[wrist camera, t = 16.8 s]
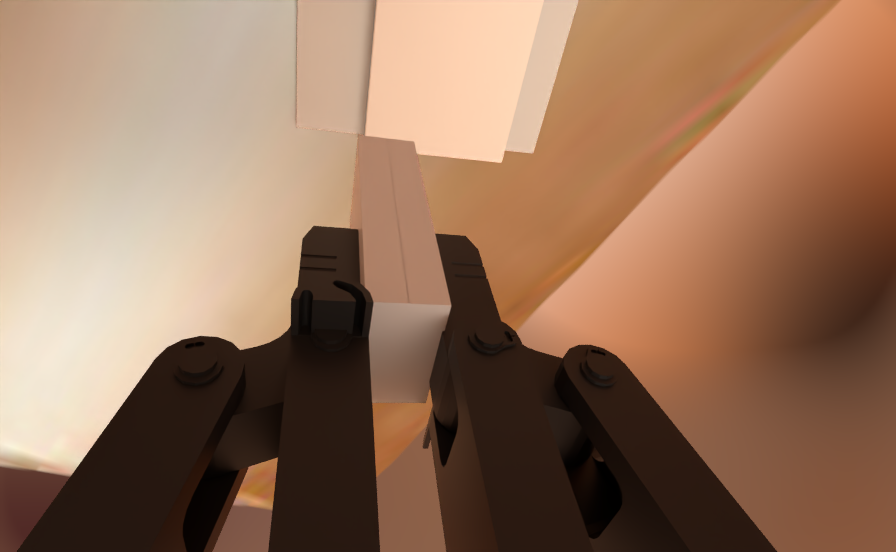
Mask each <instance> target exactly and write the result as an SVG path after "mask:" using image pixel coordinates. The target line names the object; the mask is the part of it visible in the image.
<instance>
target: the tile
mask: <svg viewBox="0 0 896 552" xmlns="http://www.w3.org/2000/svg"><path fill="white" fill-rule="evenodd" d="M543 2H544V0H375V10H374V22H373V33H372V45H371V56H370V68H369V79H368V91H367V102H366V114H365V125H364V136H372V137H380V138H389V139H397V140H406V141H414V143H415V147H416V152H417V154H423V155H433V156H442V157H452V158H461V159H471V160H481V161H490V162H500V163H502V159H503V155H504V152H505V148H506V144H507V140H508V136H509V132H510V129H511V125H512V121H513V117H514V113H515V109H516V106H517V102H518V98H519V94H520V90H521V86H522V83H523V79H524V75H525V71H526V67H527V63H528V60H529V56H530V52H531V48H532V44H533V40H534V36H535V33H536V29H537V25H538V21H539V17H540V13H541V10H542V6H543Z"/></svg>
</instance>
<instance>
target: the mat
mask: <svg viewBox="0 0 896 552" xmlns="http://www.w3.org/2000/svg"><path fill="white" fill-rule="evenodd" d="M577 4H578V0H544V2H543V6H542V10H541V13H540V17H539V21H538V25H537V29H536V33H535V36H534V40H533V44H532V48H531V52H530V56H529V60H528V63H527V67H526V71H525V75H524V79H523V83H522V86H521V90H520V94H519V98H518V102H517V106H516V109H515V113H514V117H513V121H512V125H511V129H510V132H509V136H508V140H507V144H506V148H505V150H506V151H515V152H524V153H533V152H534V149H535V145H536V142H537V139H538V135H539V132H540V128H541V125H542V122H543V118H544V115H545V112H546V108H547V105H548V102H549V98H550V95H551V91H552V88H553V85H554V81H555V78H556V75H557V71H558V68H559V64H560V61H561V58H562V54H563V51H564V48H565V44H566V41H567V38H568V34H569V31H570V27H571V24H572V21H573V17H574V14H575V11H576V7H577ZM374 10H375V0H297V127H298V128H307V129H316V130H325V131H334V132H343V133H352V134H361V135H364V125H365V114H366V102H367V91H368V79H369V68H370V56H371V45H372V33H373V22H374Z"/></svg>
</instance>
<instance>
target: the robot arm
mask: <svg viewBox="0 0 896 552" xmlns="http://www.w3.org/2000/svg"><path fill="white" fill-rule="evenodd" d="M482 265H483V263H482V260H481V257H480V254H479V251H478V249H477V248H476V247H475V246H474V245H473V243H472V242H471V241H470V240H469V239H468V238H467V237H466V236H460V235H447V234H435V231H434V227H433V222H432V218H431V213H430V209H429V205H428V200H427V196H426V191H425V187H424V183H423V178H422V174H421V169H420V165H419V161H418V156H417V152H416V147H415V143H414V141H406V140H397V139H389V138H380V137H372V136H363V135H358V142H357V152H356V163H355V173H354V184H353V194H352V205H351V216H350V229H348V228H334V227H321V226H313V227H312V228H311V230H310V231H309V232H308V233H307V234H306V235H305V237H304V238H303V240H302V250H301V260H300V270H299V279H298V287H297V288H296V289H295V291H294V294H293V296H292V298H291V326H290V328H289V329H288V331H286V332H285V333H284V334H283V335H282V336H281V337H279V338H277V339H276V340H274V341H272V342H270V343H267V344H264V345H261V346H257V347H253V348H248V349H244V350H239V349H238V348H237V347H236V346H235V345H234V344H233V343H232V342H229V341H227V340H224V339H221V338H219V337H208V336H198V337H193V338H188V339H184V340H181V341H179V342H177V343H175V344H173V345H171V346H169V347H167V348H166V349H165V350H164V351H163V352H162V353H161V354H160V355H159V356H158V357H157V358H156V359H155V360H154V361H153V363H152V364H151V366H150V367H149V368H148V370H147V371H146V373H145V374H144V375H143V377H142V378H141V379H140V381H139V382H138V384H137V385H136V386H135V388H134V389H133V391H132V392H131V393H130V395H129V396H128V398H127V399H126V400H125V402H124V403H123V405H122V406H121V407H120V409H119V410H118V411H117V413H116V414H115V416H114V417H113V418H112V420H111V421H110V423H109V424H108V425H107V427H106V428H105V430H104V431H103V432H102V434H101V435H100V436H99V438H98V439H97V441H96V442H95V443H94V445H93V446H92V448H91V449H90V450H89V452H88V453H87V455H86V456H85V457H84V459H83V460H82V462H81V463H80V464H79V466H78V467H77V468H76V470H75V471H74V473H73V474H72V475H71V477H70V478H69V480H68V481H67V482H66V484H65V485H64V487H63V488H62V489H61V491H60V492H59V493H58V495H57V497H56V498H55V499H54V501H53V502H52V503H51V505H50V506H49V508H48V509H47V510H46V512H45V513H44V514H43V516H42V517H41V519H40V520H39V521H38V523H37V524H36V526H35V527H34V528H33V530H32V531H31V532H30V534H29V535H28V537H27V538H26V539H25V541H24V542H23V544H22V545H21V546H20V548H19V549H18V550H17V552H212V551H213V549H214V547H215V544H216V542H217V540H218V537H219V535H220V533H221V530H222V528H223V526H224V523H225V521H226V519H227V516H228V514H229V512H230V509H231V507H232V505H233V503H234V500H235V498H236V496H237V493H238V491H239V489H240V486H241V484H242V482H243V479H244V477H245V475H246V472H247V470H248V467H249V466H252V465H255V464H258V463H261V462H265V461H268V460H271V459H274V458H277V457H278V463H277V472H276V482H275V492H274V501H273V511H272V522H271V532H270V540H269V551H268V552H380V545H379V524H378V505H377V488H376V466H375V447H374V428H373V409H372V403H426V400H427V396H428V392H429V389H430V390H431V396H432V403H433V407H432V410H431V414H430V417H429V421H428V425H427V429H426V432H425V435H424V440H423V448H428V446H429V443H430V440H431V445H432V451H433V459H434V466H435V473H436V480H437V487H438V495H439V501H440V509H441V516H442V523H443V530H444V538H445V544H446V552H777V551H776V550H775V548H774V547H773V546H772V545H771V543H770V542H769V541H768V540H767V539H766V537H765V536H764V535H763V533H762V532H761V531H760V530H759V529H758V527H757V526H756V525H755V524H754V522H753V521H752V520H751V519H750V517H749V516H748V515H747V514H746V513H745V511H744V510H743V509H742V508H741V506H740V505H739V504H738V503H737V502H736V500H735V499H734V498H733V496H732V495H731V494H730V493H729V492H728V490H727V489H726V488H725V487H724V486H723V484H722V483H721V482H720V481H719V479H718V478H717V477H716V475H715V474H714V473H713V472H712V471H711V469H710V468H709V467H708V466H707V464H706V463H705V462H704V461H703V459H702V458H701V457H700V456H699V455H698V454H697V452H696V451H695V450H694V448H693V447H692V446H691V445H690V443H689V442H688V441H687V440H686V438H685V437H684V436H683V435H682V434H681V432H680V431H679V430H678V429H677V427H676V426H675V425H674V424H673V422H672V421H671V420H670V419H669V418H668V416H667V415H666V414H665V413H664V411H663V410H662V409H661V408H660V406H659V405H658V404H657V403H656V401H655V400H654V399H653V398H652V397H651V395H650V394H649V393H648V392H647V390H646V389H645V388H644V387H643V385H642V384H641V383H640V382H639V380H638V379H637V378H636V377H635V376H634V374H633V373H632V372H631V371H630V369H628V367H627V366H626V365H625V364H624V363H623V362H622V361H621V360H620V359H619V358H618V357H617V356H616V355H614V354H612V353H610V352H609V351H607V350H605V349H603V348H600V347H596V346H593V345H578V346H575V347H573V348H570V349H569V350H568V351H567V353H566V354H565V356H564V357H563V358H559V357H556V356H552V355H549V354H545V353H542V352H538V351H535V350H533V349H529V348H527V347H526V346H524V345H522V342H521V340H520V338H519V337H518V335H517V333H516V332H515V331H514V330H513V329H512V328H511V327H509V326H508V325H507V324H506V323H504V322H502V321H501V319H500V316H499V313H498V310H497V307H496V304H495V301H494V298H493V295H492V291H491V288H490V285H489V282H488V279H486V273H485V270H484V267H482Z"/></svg>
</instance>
